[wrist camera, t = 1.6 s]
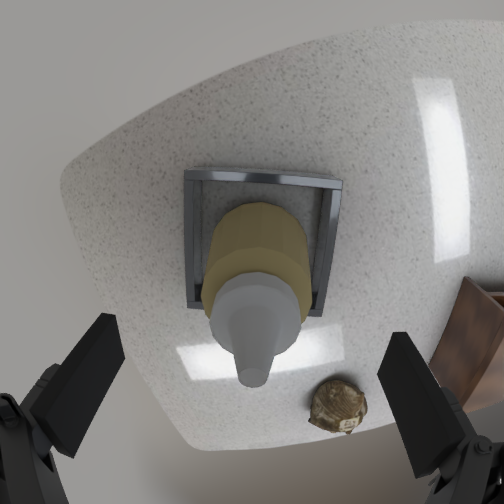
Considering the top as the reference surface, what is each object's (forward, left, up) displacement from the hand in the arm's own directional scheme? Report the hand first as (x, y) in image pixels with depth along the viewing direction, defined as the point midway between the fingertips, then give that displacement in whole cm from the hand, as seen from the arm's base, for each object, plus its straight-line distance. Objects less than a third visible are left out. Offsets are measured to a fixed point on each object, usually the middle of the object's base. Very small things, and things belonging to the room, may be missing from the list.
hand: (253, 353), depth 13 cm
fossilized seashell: (+22, +12, -16) cm, 30 cm away
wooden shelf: (+10, +33, -16) cm, 38 cm away
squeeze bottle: (0, 0, -16) cm, 16 cm away
